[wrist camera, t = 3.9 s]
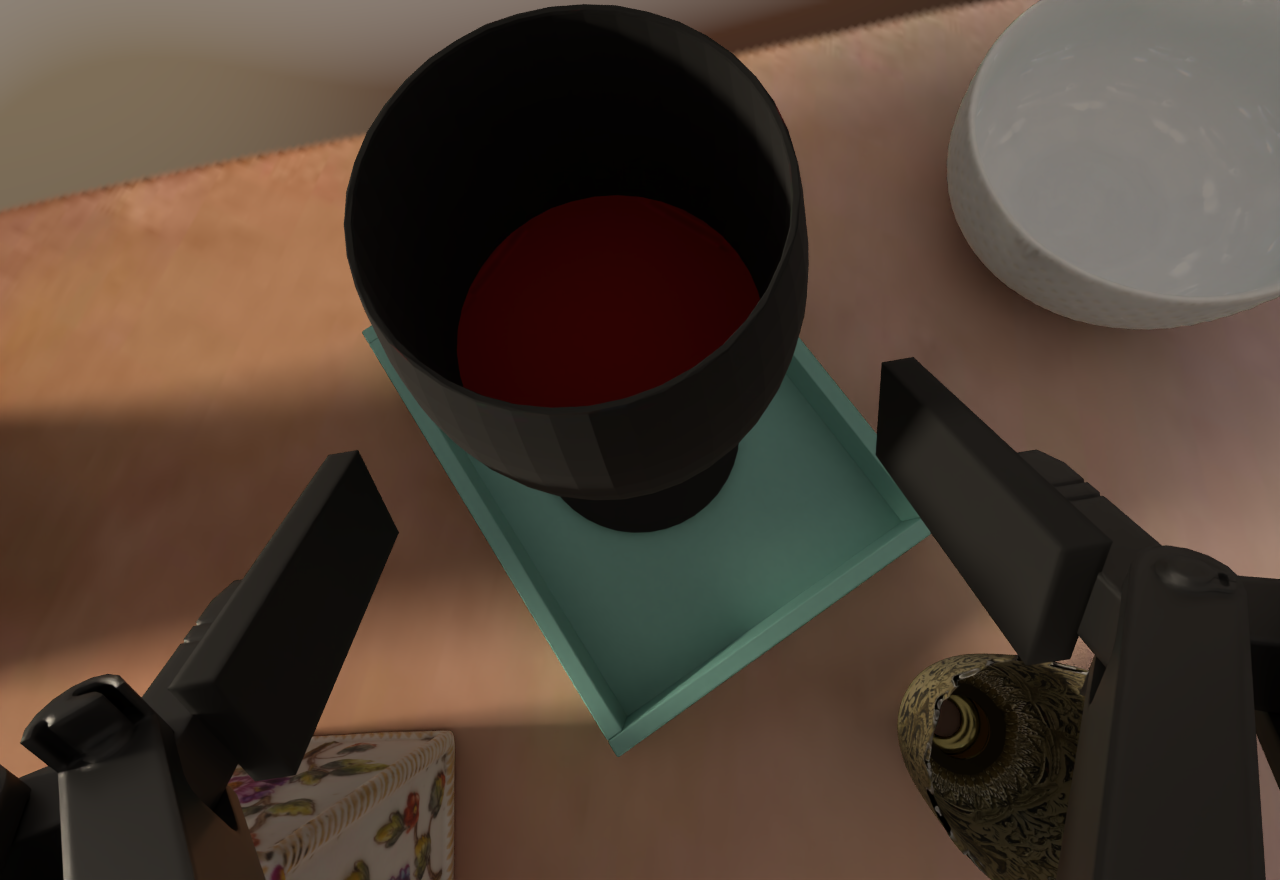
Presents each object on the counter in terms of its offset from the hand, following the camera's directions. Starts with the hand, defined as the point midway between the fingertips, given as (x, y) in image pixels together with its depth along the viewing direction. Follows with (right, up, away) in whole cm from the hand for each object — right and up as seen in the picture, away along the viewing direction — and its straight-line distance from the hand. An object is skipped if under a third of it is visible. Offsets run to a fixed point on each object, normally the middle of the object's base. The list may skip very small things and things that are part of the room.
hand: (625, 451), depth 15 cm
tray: (0, +1, +16) cm, 16 cm away
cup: (+14, -12, +12) cm, 23 cm away
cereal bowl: (+24, +12, +17) cm, 32 cm away
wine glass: (0, +1, +16) cm, 16 cm away
